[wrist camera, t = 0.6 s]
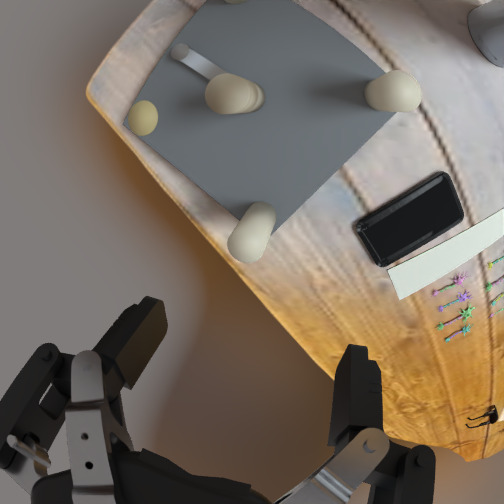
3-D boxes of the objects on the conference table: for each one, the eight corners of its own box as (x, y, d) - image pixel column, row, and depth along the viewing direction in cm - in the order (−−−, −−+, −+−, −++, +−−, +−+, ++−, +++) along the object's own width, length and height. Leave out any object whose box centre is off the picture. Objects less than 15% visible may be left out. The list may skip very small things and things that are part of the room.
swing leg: (168, 60, 25) (128, 53, 18) (185, 37, 23) (148, 23, 16) (251, 119, 27) (229, 122, 20) (272, 95, 25) (256, 89, 19)
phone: (353, 226, 33) (447, 169, 26) (352, 222, 34) (443, 167, 27) (379, 270, 35) (466, 219, 28) (378, 266, 36) (462, 216, 29)
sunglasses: (493, 413, 49) (494, 425, 45) (464, 422, 55) (465, 434, 52) (499, 401, 46) (500, 413, 42) (468, 411, 52) (468, 424, 48)
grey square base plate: (241, -19, 20) (210, -57, 11) (402, 99, 24) (439, 97, 15) (135, 121, 33) (80, 133, 24) (268, 231, 37) (249, 277, 28)
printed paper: (533, 187, 22) (538, 190, 21) (532, 312, 32) (535, 316, 30) (386, 269, 36) (388, 274, 35) (423, 370, 45) (424, 376, 44)
